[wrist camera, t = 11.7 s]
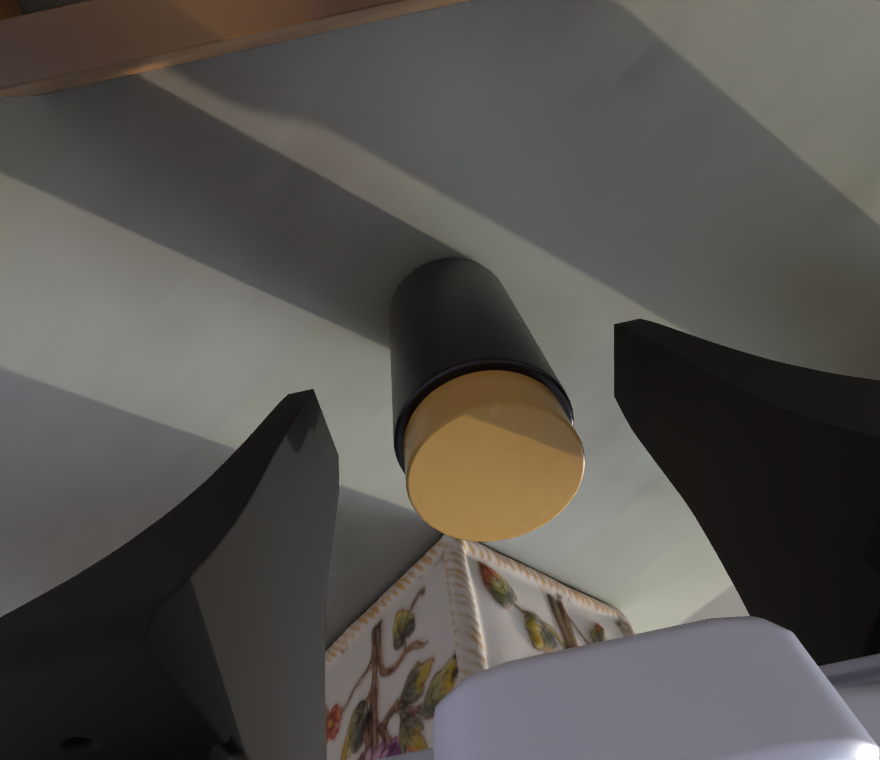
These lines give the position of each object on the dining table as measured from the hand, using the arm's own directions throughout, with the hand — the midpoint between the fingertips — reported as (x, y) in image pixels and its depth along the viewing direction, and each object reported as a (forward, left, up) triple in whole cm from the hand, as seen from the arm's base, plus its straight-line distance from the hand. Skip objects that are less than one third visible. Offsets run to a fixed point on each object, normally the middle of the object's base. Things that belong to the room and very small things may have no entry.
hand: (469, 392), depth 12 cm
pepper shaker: (0, 0, -5) cm, 5 cm away
